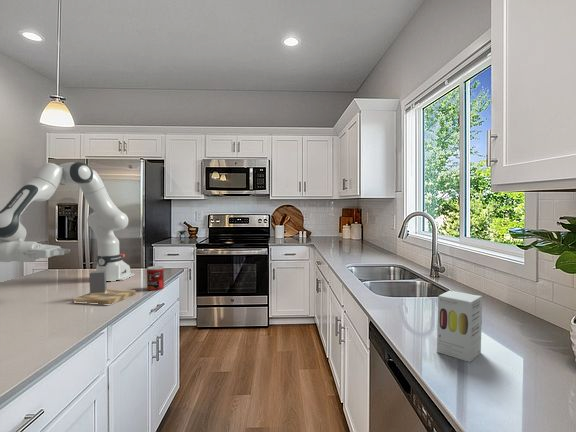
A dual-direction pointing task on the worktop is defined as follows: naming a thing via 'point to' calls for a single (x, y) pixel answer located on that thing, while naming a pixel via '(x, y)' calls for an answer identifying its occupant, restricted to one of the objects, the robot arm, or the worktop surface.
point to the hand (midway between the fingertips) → (66, 251)
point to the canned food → (155, 278)
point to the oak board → (106, 296)
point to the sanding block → (98, 282)
